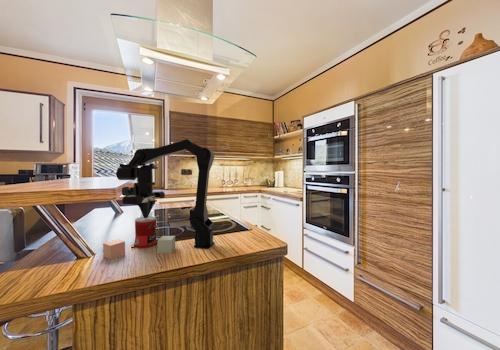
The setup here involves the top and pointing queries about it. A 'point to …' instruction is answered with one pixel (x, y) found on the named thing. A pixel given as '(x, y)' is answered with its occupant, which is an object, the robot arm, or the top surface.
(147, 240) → the canned food
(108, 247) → the terracotta block
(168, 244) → the sage block
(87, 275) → the top surface
